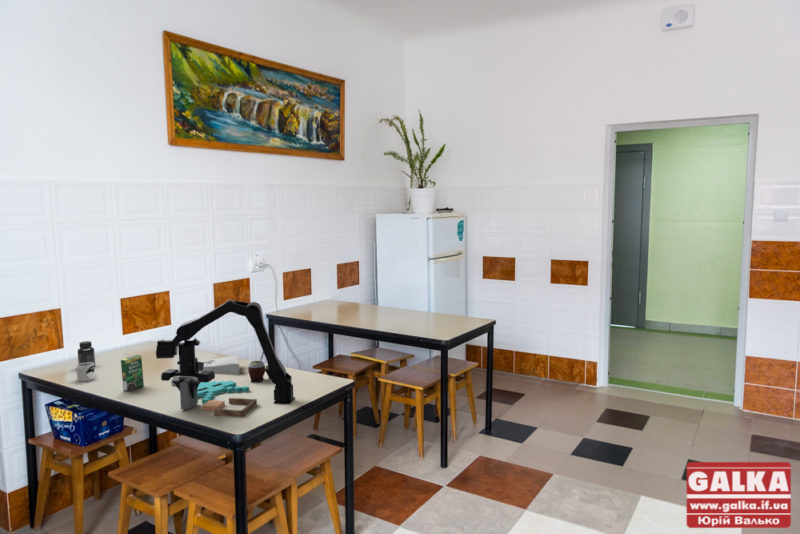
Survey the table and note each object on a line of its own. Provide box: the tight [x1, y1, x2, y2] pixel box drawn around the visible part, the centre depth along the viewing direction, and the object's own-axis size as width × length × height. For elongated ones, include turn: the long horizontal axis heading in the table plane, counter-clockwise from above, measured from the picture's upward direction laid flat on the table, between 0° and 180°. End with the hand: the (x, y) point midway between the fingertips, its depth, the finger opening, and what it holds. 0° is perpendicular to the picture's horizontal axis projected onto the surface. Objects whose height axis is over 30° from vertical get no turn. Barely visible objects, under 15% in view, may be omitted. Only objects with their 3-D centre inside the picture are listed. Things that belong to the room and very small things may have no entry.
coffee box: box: [120, 354, 145, 392], centre depth 241 cm, size 8×3×13 cm, turn 150°
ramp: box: [199, 355, 240, 376], centre depth 267 cm, size 28×16×5 cm, turn 59°
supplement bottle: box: [77, 340, 96, 368], centre depth 270 cm, size 7×7×12 cm
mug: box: [75, 362, 96, 383], centre depth 255 cm, size 10×7×7 cm, turn 0°
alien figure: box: [197, 380, 250, 405], centre depth 236 cm, size 20×2×20 cm
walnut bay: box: [213, 397, 258, 418], centre depth 216 cm, size 11×13×2 cm
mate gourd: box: [247, 351, 266, 384], centre depth 250 cm, size 8×8×15 cm
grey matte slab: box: [179, 378, 199, 410], centre depth 219 cm, size 3×7×10 cm, turn 171°
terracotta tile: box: [201, 399, 226, 412], centre depth 219 cm, size 6×6×2 cm
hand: (189, 398), depth 219 cm, fingers closed on grey matte slab, 3 cm apart
